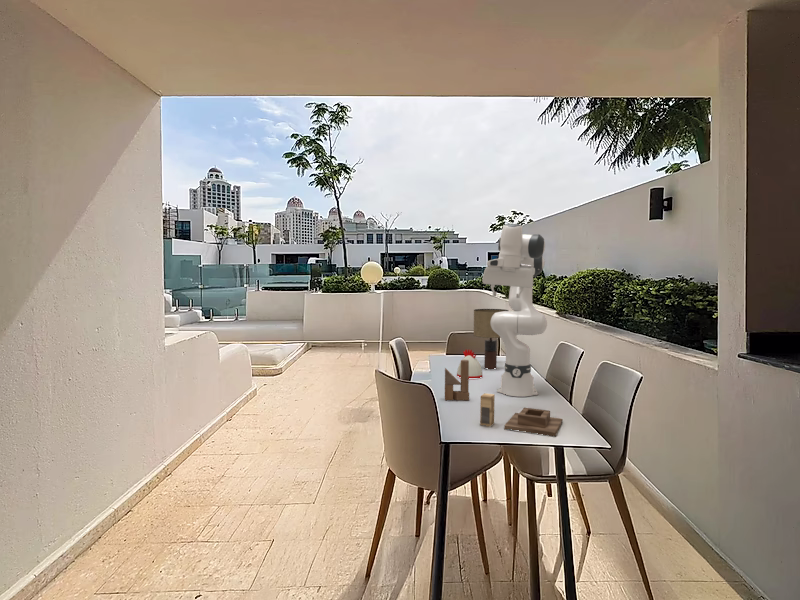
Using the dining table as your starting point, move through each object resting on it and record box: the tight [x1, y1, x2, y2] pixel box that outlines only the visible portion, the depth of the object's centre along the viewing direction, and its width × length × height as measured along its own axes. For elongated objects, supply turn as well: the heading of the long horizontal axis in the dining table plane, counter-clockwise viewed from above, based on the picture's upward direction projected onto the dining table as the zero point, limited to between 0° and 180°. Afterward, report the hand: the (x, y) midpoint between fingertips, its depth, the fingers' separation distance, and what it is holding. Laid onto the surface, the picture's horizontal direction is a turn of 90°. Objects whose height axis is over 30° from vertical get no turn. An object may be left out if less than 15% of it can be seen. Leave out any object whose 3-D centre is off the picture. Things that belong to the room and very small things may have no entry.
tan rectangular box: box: [479, 392, 496, 427], centre depth 185 cm, size 5×4×11 cm
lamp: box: [473, 308, 510, 369], centre depth 289 cm, size 20×20×35 cm
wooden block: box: [444, 359, 470, 401], centre depth 220 cm, size 4×11×18 cm, turn 90°
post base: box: [503, 407, 564, 437], centre depth 183 cm, size 18×18×5 cm
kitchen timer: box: [456, 349, 483, 379], centre depth 269 cm, size 14×14×15 cm
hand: (506, 297), depth 200 cm, fingers open, 8 cm apart
